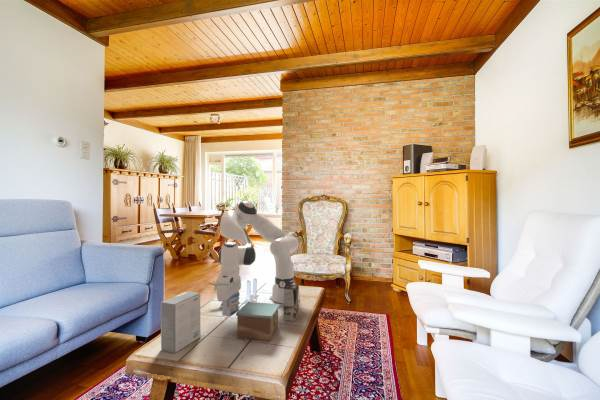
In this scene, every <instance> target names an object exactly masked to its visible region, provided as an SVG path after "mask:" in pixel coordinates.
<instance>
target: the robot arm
mask: <svg viewBox="0 0 600 400" xmlns="http://www.w3.org/2000/svg"><path fill="white" fill-rule="evenodd" d="M221 215H222V216H221V219H220V222H219V231H220V234H221V235H222V236H223V238H226V239H229V241H226V242H223V243H222V244H221V248H220V249H219V250H218V254H217V255H218V263H219V264H220V265H221V267H220V273H219V276H218V277H217V278H216V281H215V282H216V284H218V285H217V290H216V298H217V299H216V300H217V301H218V302H221V303H223V308H224V309H227V308H228V304H227V301H228V299H229V298H230V297H231V296H232V295H234V294H235V293H237V291H239V292H240V290H241V288H242V280H241V279H242V278H241V275H240V266H251V265H252V264H253V263H254V262H255V261H256V257H257V256H256V255H257V254H256V250H255V248H254V246H253V245H252V241H251V239H250V237H249V234H248V231H247V227H248V225H250V226H251V227H252V229H253V230H255V232H256V233H257V234H258V235H260V236H261V237H262V238H263V239H264V240H265V241H267V242H269V243H270V245H269V250H270V253H271V254H272V255H273V258H274V262H275V276H274V284H273V285H272V291H271V292H272V293H271V296H269V299H270V300H271V301H273V302H275V303H276V304H284V288H285V287H286V286H287V285H296V283H295V275H294V268H295V267H294V262H293V260H292V259H291V254H292V253H294V252H295V251H296V250H297V249H298V248H299V240H298V238H297V237H295V236H293V235H291V234H289V233H288V232H286V231H284V230H282V229H281V228H280V227H278V226H277V225H275V223H273V222H272V221H271V220H270V219H269V218H267V217H266V216H265V215H264V214H262V213H260V212H258V211H257V208H256V207H255V205H254V203H252V202H251V201H249V200H242V201H240V202H239V203H238V205H237V207H236V209H235V211H234V210H226V211H224V212H223V213H222V214H221ZM231 240H232V241H231ZM233 240H234V241H233ZM236 241H239V242H241V244H242V245H239V243H238V242H236Z"/></svg>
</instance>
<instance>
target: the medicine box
mask: <svg viewBox="0 0 600 400" xmlns="http://www.w3.org/2000/svg"><path fill="white" fill-rule="evenodd" d="M239 298H240V295H239V294H237V293H235V294H234V295H232V296H231V297H230V298H229V299H228V301H227V304H228V308H227V309H224V308H223V303H222V302H221V303H222V305H221V306H222V307H221V308H222V309H221V315H222V316H223V317H232V316H233V315H236V313H237V312H238V311H239V310H240V308H239V305H240V304H239V303H240V299H239ZM238 300H239V301H238Z"/></svg>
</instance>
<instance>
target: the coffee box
mask: <svg viewBox="0 0 600 400" xmlns="http://www.w3.org/2000/svg"><path fill="white" fill-rule="evenodd" d="M299 288H300V285H299V284H295V285H287V286H286V287H285V288H284V303H283V320H284V321H288V322H289V321H291V322H296V320H297V318H298V316H299V314H300V313H299V306H300V305H299V302H300V292H299V290H300V289H299Z"/></svg>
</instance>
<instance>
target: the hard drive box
mask: <svg viewBox="0 0 600 400" xmlns="http://www.w3.org/2000/svg"><path fill="white" fill-rule="evenodd" d="M201 333H202V332H201V293H200V292H195V291H190V290H187V291H185V292H181V293H179V294H177V295H175V296H172V297H170V298H168V299H165V300H163V301H161V302H160V347H161V348H160V350H161V349H162V350H161V351H163V350H165V352H167V351H168V352H167V353H171V352H172V353H173V354H176V353H177V352H179V351H181V350H182V349H184V348H185V347H186V346H187V347H188V345H190V344H192V343H193V342H195V341H196V340H198V339H200V338H201V336H202V335H201ZM180 349H181V350H180Z"/></svg>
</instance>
